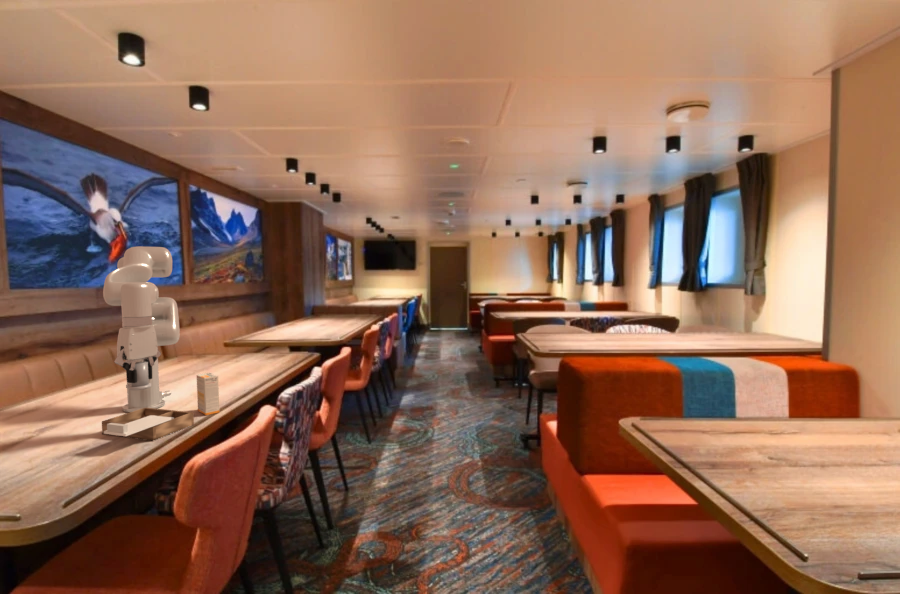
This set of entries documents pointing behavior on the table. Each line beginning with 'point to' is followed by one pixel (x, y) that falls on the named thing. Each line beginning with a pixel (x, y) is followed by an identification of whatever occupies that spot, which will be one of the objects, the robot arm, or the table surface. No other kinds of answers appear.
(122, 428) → the lid
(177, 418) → the housing
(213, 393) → the supplement box
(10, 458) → the table surface
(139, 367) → the grey cylinder
